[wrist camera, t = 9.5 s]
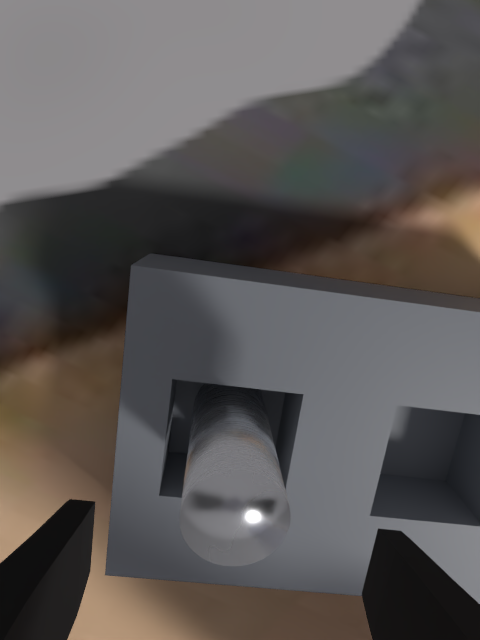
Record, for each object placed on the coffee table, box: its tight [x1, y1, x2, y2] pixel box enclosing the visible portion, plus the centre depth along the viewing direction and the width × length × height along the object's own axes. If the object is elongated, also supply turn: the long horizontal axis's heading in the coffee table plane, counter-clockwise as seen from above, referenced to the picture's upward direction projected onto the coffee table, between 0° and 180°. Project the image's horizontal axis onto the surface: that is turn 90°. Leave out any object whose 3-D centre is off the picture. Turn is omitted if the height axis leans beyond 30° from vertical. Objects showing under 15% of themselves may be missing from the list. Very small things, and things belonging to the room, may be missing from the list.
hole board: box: [105, 253, 480, 604], centre depth 18 cm, size 12×16×4 cm
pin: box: [179, 383, 291, 566], centre depth 15 cm, size 3×3×7 cm
